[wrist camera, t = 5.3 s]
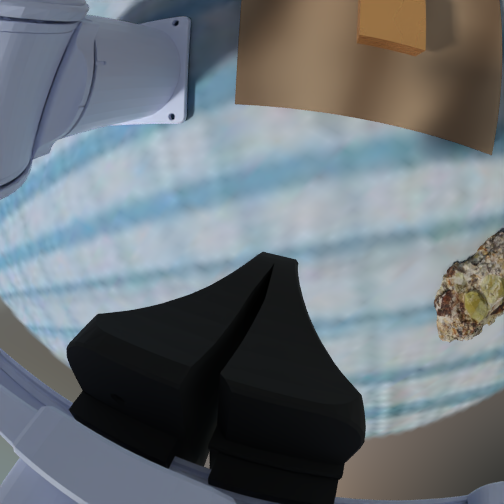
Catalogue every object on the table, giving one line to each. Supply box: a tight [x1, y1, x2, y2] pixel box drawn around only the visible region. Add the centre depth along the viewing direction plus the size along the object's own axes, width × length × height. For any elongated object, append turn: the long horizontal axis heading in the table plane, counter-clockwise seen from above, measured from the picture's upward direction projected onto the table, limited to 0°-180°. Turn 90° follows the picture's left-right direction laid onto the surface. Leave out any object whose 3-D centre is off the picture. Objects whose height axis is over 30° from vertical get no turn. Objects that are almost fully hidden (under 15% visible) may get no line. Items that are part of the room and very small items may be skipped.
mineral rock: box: [434, 232, 504, 342], centre depth 18 cm, size 11×4×8 cm
